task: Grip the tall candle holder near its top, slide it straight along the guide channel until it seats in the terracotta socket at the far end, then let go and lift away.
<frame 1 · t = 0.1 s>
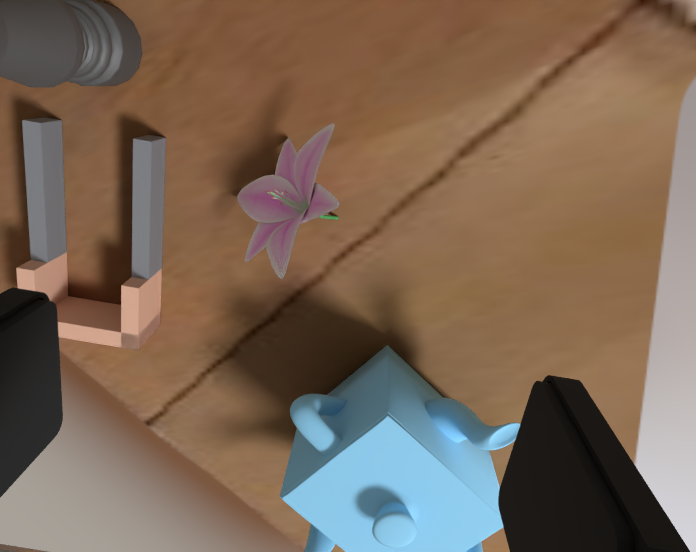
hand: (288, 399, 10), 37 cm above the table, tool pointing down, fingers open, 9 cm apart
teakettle: (398, 421, 54), on the table
candle holder: (105, 45, 43), on the table
guide channel: (106, 228, 49), on the table
lily: (298, 188, 46), on the table
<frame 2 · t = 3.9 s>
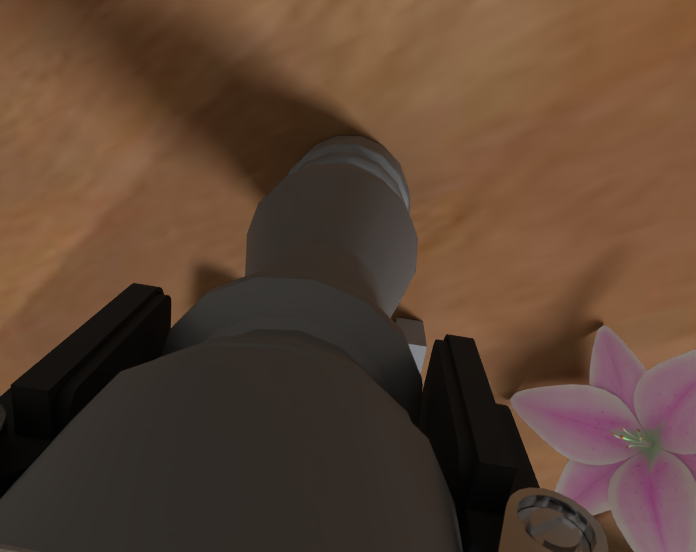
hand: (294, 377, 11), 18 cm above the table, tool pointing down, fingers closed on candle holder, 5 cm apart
candle holder: (348, 194, 28), on the table, touching gripper
guide channel: (311, 435, 33), on the table
lily: (603, 388, 31), on the table
when the fingers open (18 cm above the table, at t = 10.7 s): candle holder stays where it is, resting in guide channel.
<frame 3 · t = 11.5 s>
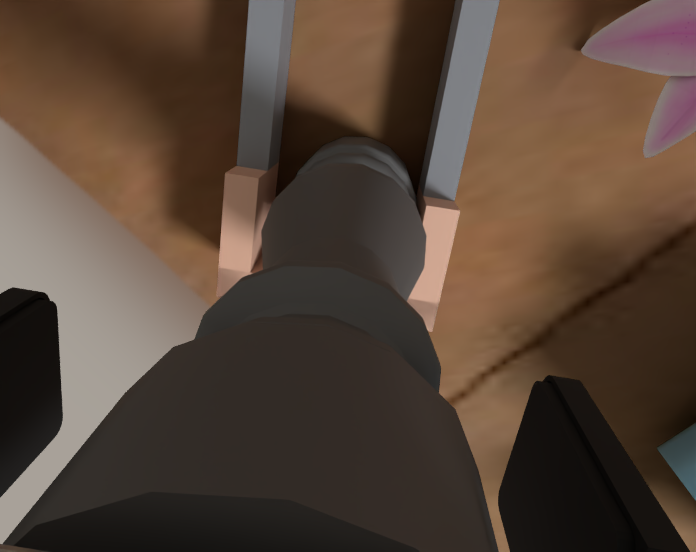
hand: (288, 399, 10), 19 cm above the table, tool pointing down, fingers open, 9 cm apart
candle holder: (355, 194, 29), resting in guide channel
guide channel: (357, 114, 27), on the table
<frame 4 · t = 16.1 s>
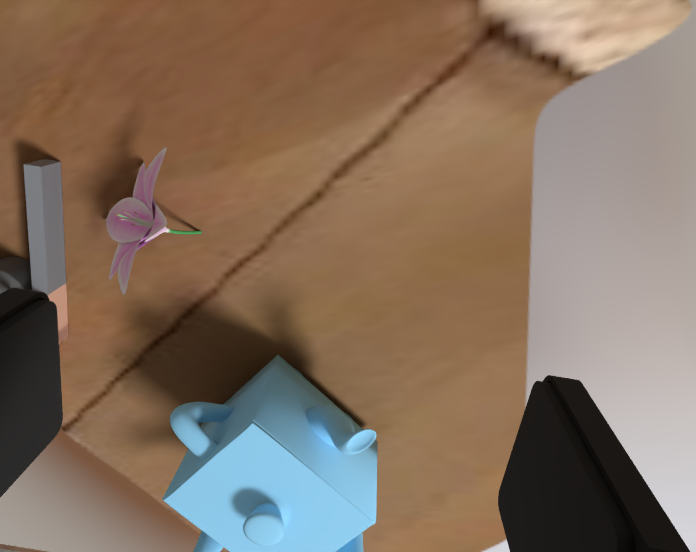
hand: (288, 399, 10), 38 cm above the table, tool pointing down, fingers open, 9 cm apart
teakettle: (299, 426, 57), on the table
candle holder: (20, 284, 53), resting in guide channel
guide channel: (11, 245, 51), on the table
lily: (161, 207, 49), on the table
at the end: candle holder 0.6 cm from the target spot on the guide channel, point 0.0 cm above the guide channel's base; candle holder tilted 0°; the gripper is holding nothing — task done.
